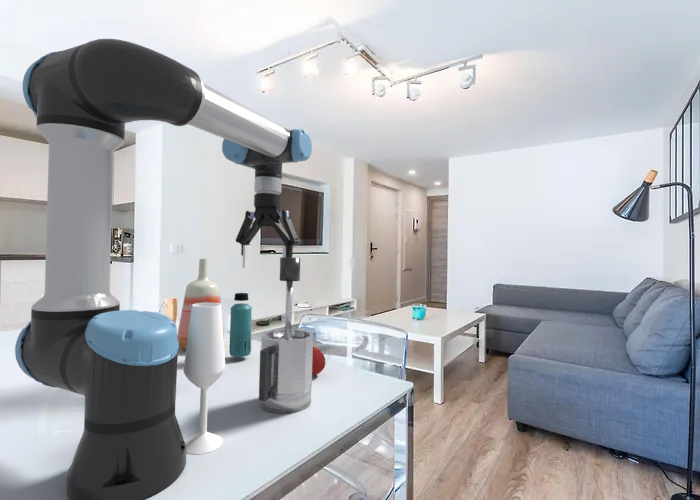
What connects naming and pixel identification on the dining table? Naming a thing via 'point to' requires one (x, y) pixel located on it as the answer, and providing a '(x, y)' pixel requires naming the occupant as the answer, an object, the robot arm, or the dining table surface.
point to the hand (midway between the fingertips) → (265, 268)
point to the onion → (317, 361)
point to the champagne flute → (204, 367)
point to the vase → (197, 300)
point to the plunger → (289, 289)
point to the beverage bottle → (240, 327)
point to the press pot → (286, 371)
